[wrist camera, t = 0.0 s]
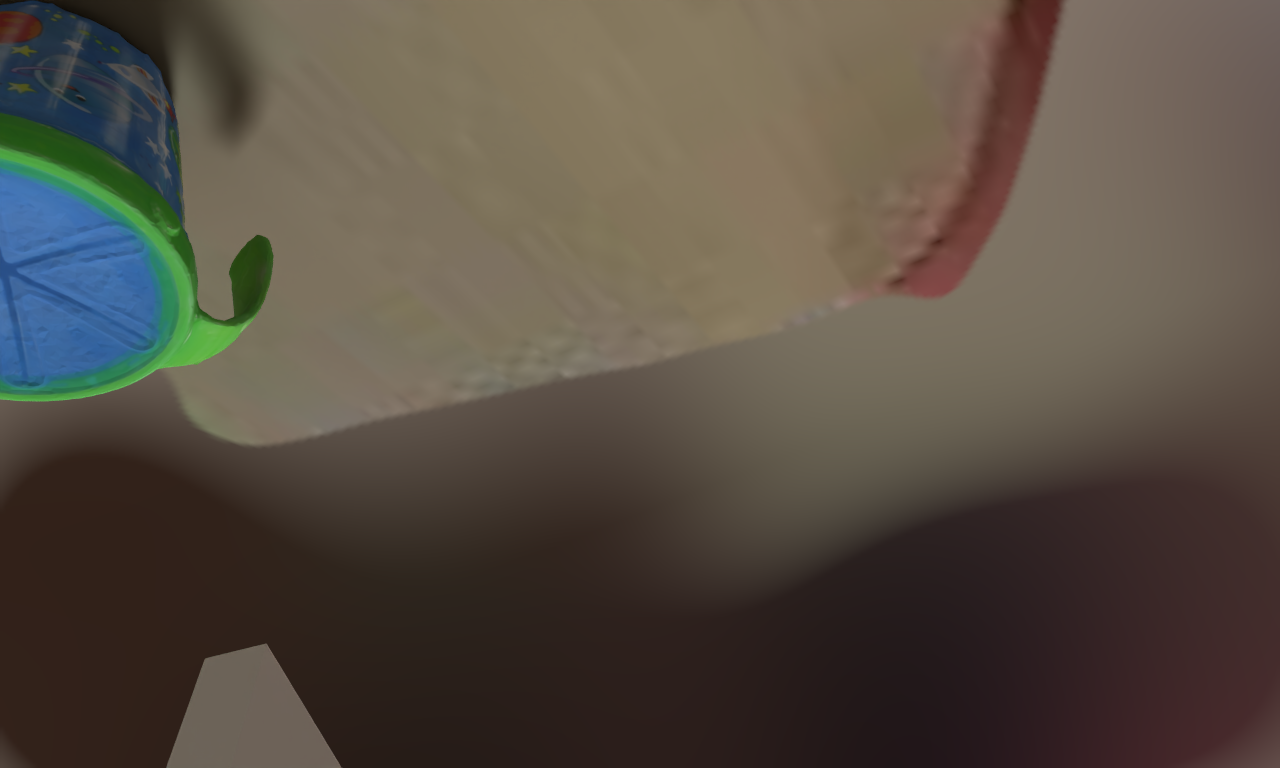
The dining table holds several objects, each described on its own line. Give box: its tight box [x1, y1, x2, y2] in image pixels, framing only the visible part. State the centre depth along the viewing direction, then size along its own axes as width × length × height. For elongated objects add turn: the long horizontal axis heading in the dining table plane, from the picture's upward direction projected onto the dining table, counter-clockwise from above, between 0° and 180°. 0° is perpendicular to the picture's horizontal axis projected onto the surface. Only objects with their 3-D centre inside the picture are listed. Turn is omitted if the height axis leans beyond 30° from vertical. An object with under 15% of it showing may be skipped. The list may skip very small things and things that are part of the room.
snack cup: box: [0, 1, 273, 401], centre depth 31 cm, size 16×10×10 cm
